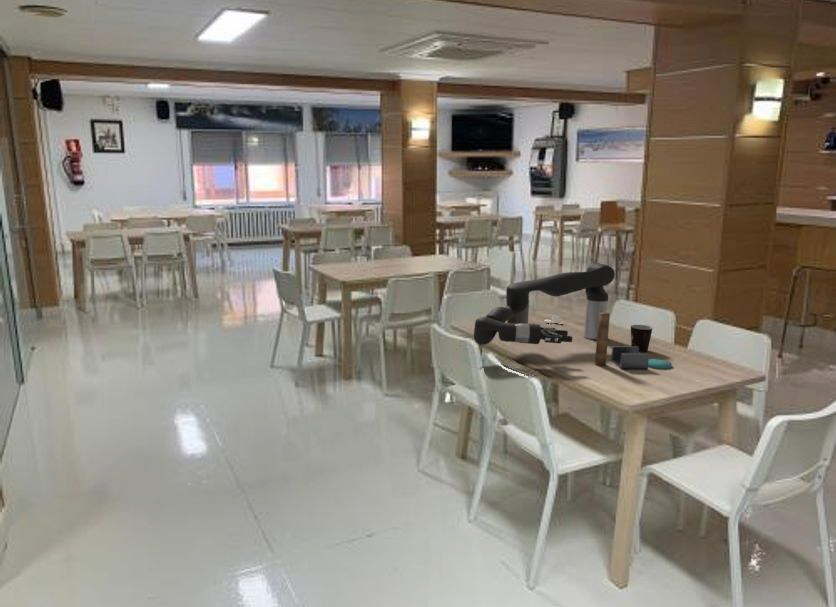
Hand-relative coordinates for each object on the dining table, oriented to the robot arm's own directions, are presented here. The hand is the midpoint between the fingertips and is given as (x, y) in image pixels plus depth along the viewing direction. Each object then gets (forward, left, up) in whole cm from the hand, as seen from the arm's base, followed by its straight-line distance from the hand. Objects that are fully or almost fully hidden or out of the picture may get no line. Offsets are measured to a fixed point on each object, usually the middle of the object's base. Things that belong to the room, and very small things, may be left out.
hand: (569, 336), depth 241 cm
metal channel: (0, +24, -11) cm, 26 cm away
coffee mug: (-20, +35, -11) cm, 42 cm away
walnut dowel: (0, +13, -11) cm, 17 cm away
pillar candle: (-57, -9, -11) cm, 59 cm away
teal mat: (0, +35, -11) cm, 36 cm away
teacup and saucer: (-73, +11, -12) cm, 74 cm away
